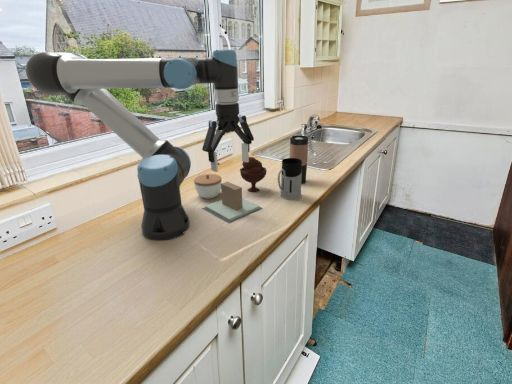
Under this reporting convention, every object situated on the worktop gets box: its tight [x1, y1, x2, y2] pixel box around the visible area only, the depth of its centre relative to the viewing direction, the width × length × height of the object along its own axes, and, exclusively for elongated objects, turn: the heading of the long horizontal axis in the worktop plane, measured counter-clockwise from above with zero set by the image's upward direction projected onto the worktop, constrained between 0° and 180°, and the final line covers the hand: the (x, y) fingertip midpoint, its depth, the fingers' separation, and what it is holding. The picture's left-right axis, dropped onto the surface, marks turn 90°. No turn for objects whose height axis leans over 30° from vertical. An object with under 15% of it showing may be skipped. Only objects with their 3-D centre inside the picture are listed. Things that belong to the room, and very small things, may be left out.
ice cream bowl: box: [239, 156, 267, 194], centre depth 128 cm, size 11×11×15 cm
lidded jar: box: [193, 173, 222, 200], centre depth 125 cm, size 11×11×9 cm
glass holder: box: [277, 157, 303, 202], centre depth 120 cm, size 9×14×15 cm, turn 146°
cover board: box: [204, 181, 260, 221], centre depth 113 cm, size 14×14×9 cm
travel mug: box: [289, 134, 309, 185], centre depth 136 cm, size 8×8×20 cm
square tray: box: [201, 206, 264, 224], centre depth 115 cm, size 16×16×1 cm
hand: (230, 166), depth 109 cm, fingers open, 13 cm apart
